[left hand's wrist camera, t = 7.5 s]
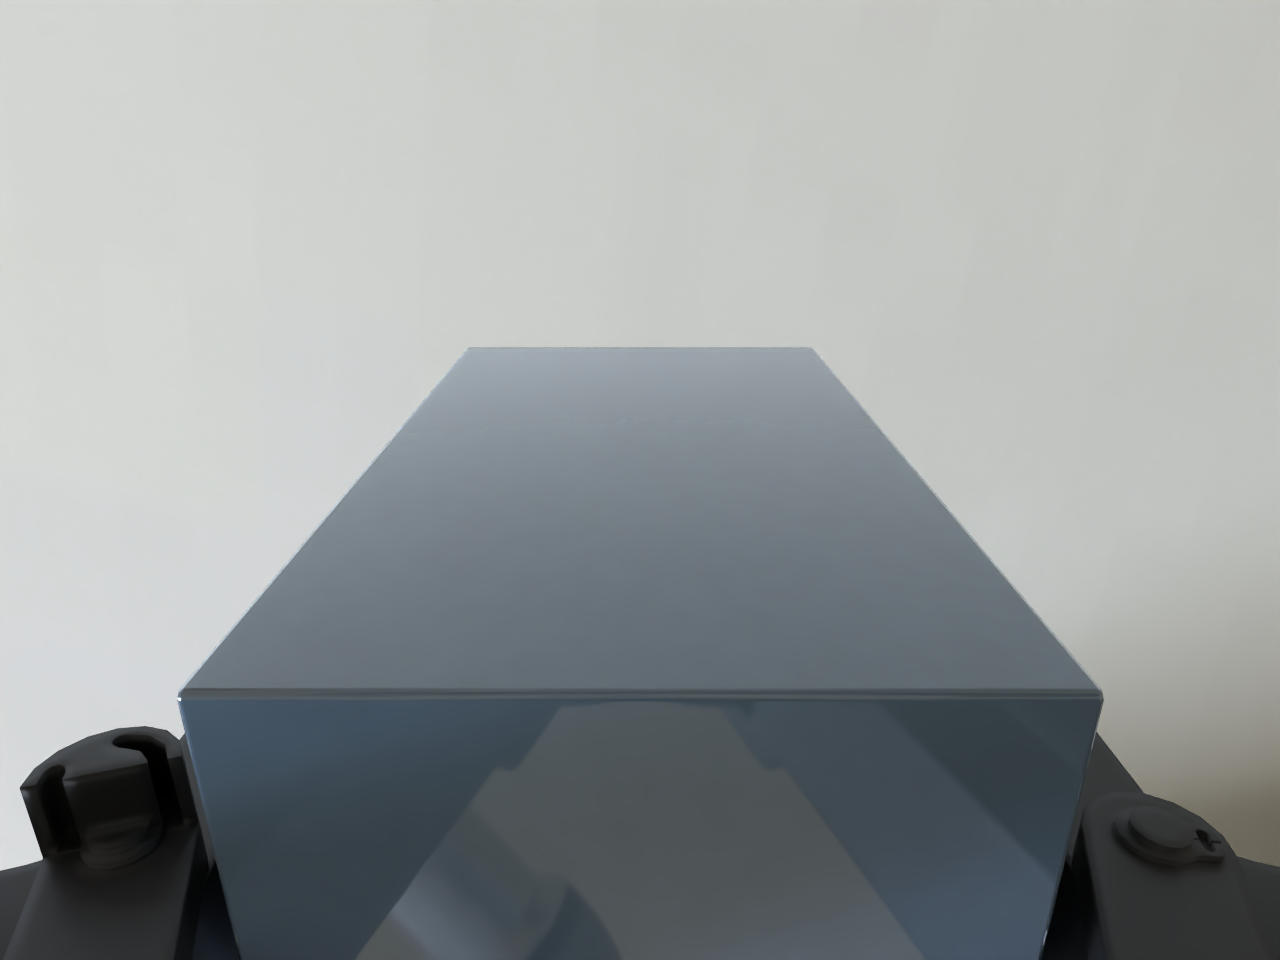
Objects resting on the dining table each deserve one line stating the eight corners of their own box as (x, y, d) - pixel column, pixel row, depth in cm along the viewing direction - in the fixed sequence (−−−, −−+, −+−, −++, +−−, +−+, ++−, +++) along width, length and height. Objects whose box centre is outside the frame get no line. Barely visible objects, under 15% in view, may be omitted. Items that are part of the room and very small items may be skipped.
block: (790, 648, 18) (972, 1259, 8) (489, 648, 18) (308, 1260, 8) (813, 346, 16) (1110, 692, 6) (466, 346, 16) (170, 693, 6)
